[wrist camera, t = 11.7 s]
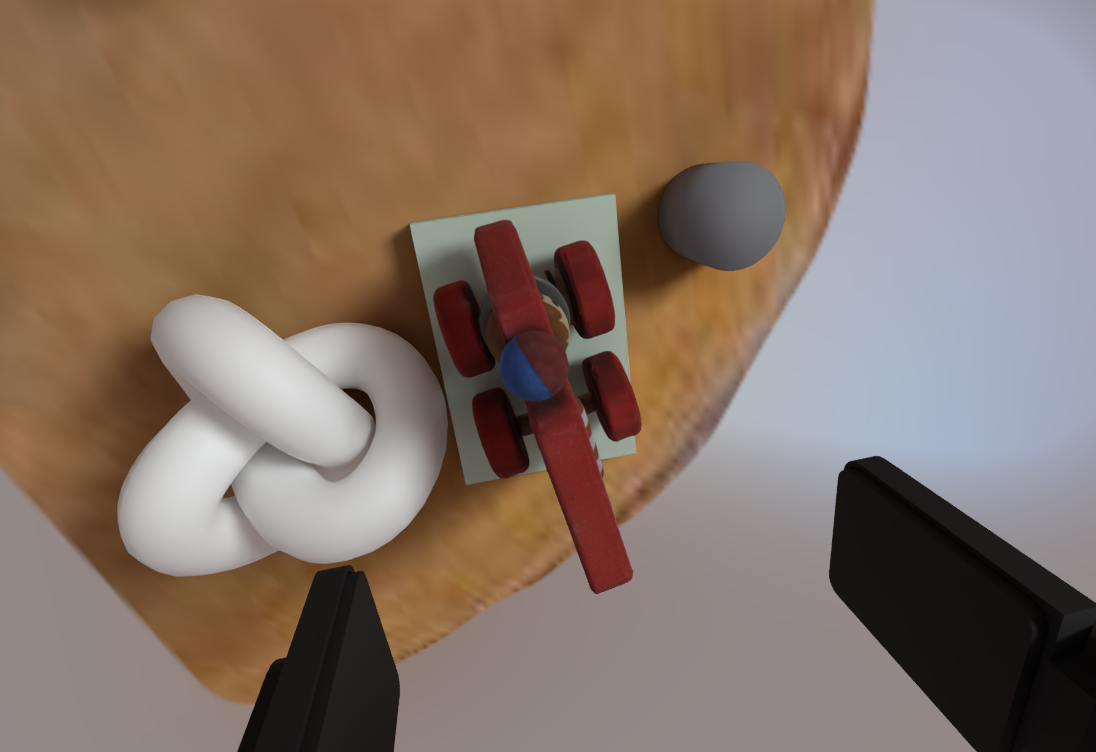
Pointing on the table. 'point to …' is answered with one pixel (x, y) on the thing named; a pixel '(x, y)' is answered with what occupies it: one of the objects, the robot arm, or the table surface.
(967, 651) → the robot arm
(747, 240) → the grey rounded pebble
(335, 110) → the table surface
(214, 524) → the white knot
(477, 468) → the board
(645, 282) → the table surface
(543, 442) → the red wheeled piece
